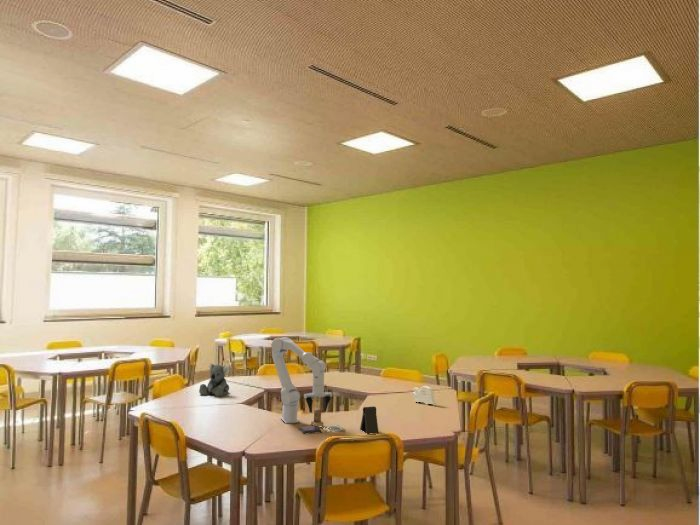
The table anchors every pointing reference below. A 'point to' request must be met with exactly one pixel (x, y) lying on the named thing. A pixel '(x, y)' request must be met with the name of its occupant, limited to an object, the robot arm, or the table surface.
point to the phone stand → (369, 420)
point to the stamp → (317, 418)
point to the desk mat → (334, 428)
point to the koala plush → (216, 381)
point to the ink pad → (309, 429)
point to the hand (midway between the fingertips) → (317, 411)
